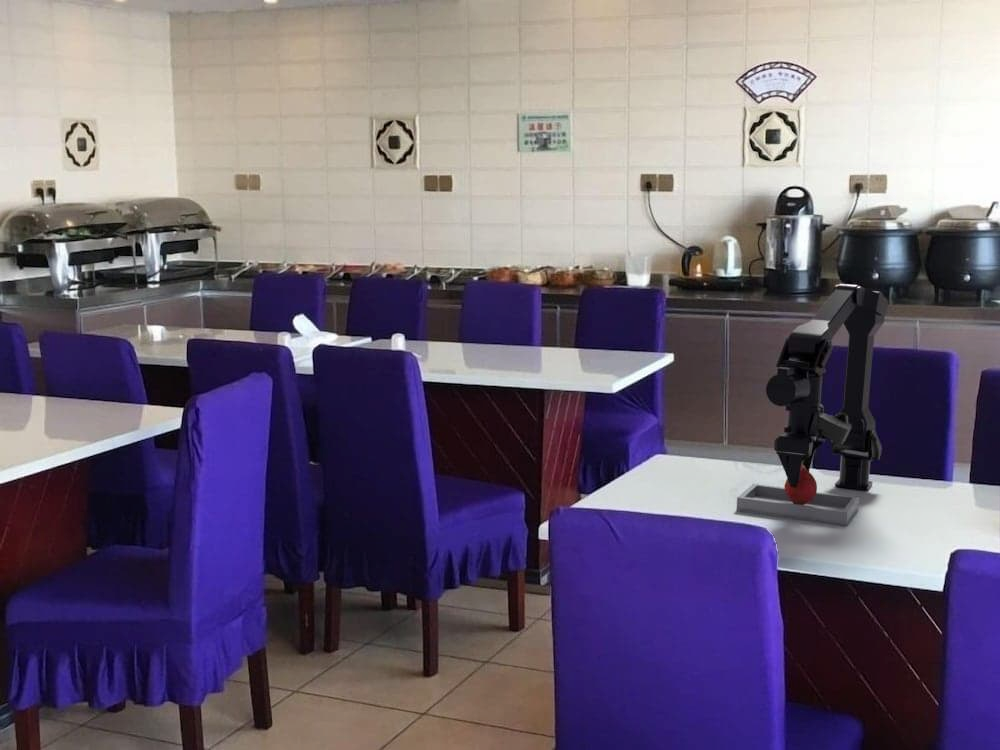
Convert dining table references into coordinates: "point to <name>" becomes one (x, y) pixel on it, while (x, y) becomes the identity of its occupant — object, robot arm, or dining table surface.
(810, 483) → the onion
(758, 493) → the tray
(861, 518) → the dining table surface
